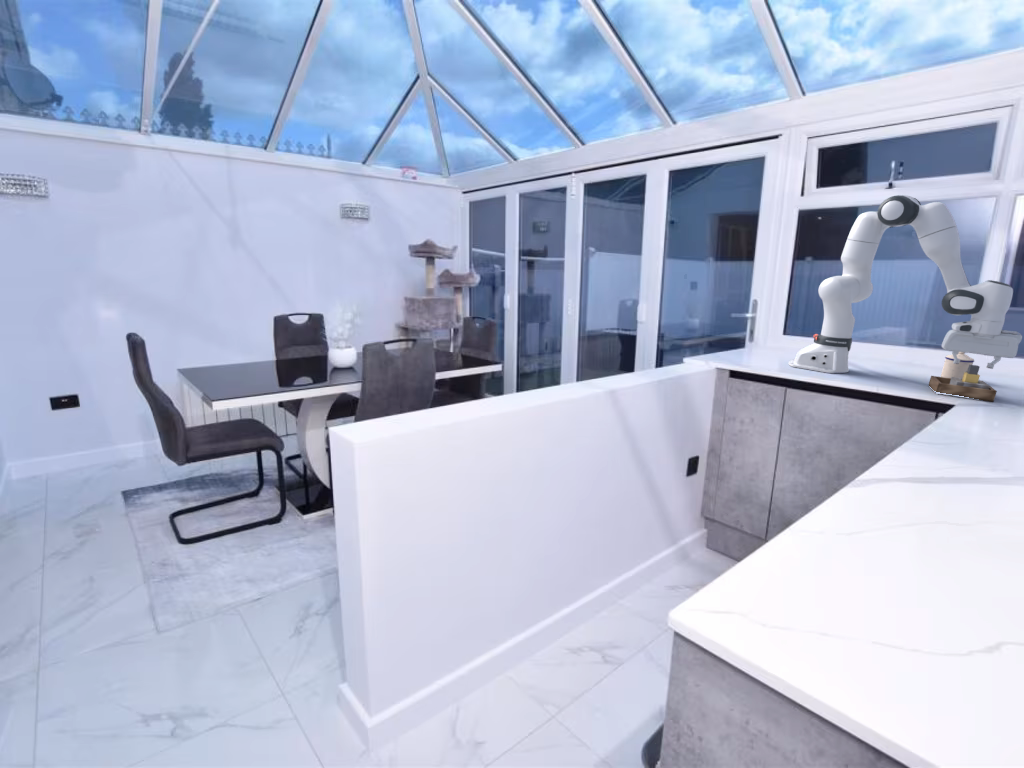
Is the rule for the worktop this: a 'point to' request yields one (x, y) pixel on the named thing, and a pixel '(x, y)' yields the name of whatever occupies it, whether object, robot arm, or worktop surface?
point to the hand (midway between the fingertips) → (972, 365)
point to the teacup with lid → (956, 365)
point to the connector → (971, 374)
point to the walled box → (963, 388)
